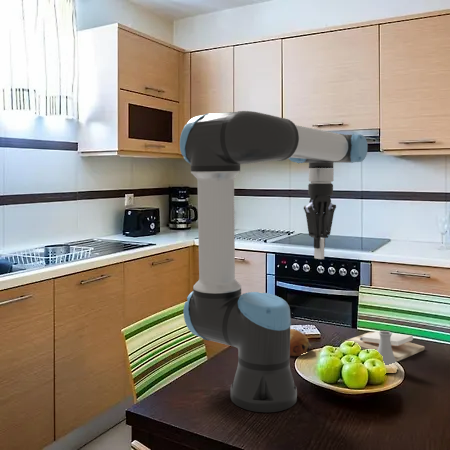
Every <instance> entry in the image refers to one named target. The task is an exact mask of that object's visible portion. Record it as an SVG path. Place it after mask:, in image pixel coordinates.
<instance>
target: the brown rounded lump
mask: <svg viewBox="0 0 450 450" xmlns="http://www.w3.org/2000/svg"><path fill="white" fill-rule="evenodd" d="M309 340H310V339H308V337H307V336H306V335H305V334H304V333H303V332H301V331H300V330H298V329H296V328H290V357H301V356H300V355H301V354H303V353H306V352H308V353H310V352H309V351H311V349H310V347H312V345H311V343H310V342H309Z"/></svg>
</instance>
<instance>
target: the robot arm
mask: <svg viewBox="0 0 450 450" xmlns="http://www.w3.org/2000/svg"><path fill="white" fill-rule="evenodd" d="M179 151H180V154H181V155H182V157H183V160H185V162H186V163H188V164H189V165H190V174H191V175H193V177H195V178H196V180H197V209H198V210H197V214H198V217H197V219H198V222H197V223H198V224H197V226H198V231H197V232H198V271H199V272H198V273H199V274H198V281H196V282H195V284H193V288H192V289H193V290H192V291H191V292H190V293H189V294H188V296H187V297H186V299H187V301H185V302H184V306H183V319H184V322H185V325H186V328H187V329H188V331H189V332H191V333H192V334H193V335H194V336H196V337H200V338H201V339H203V340H205V341H207V342H208V341H210V342H214V343H219V344H223V345H226V346H231V347H234V348H236V349H237V350H238V351H237V353H238V354H237V358H238V362H237V367H236V370H235V374H234V378H233V381H232V383H231V385H230V400H231V402H232V403H233V404H234V405H235V406H237V407H239V408H242V409H243V410H247V411H251V412H256V413H277V412H281V411H285V410H288V409H291V408H292V407H293V406H294V405H296V403H297V401H298V398H297V397H298V390H297V385H296V384H295V382H294V377H293V372H292V370H291V367H290V365H291V364H290V362H291V360H290V359H291V358H290V357H291V356H290V329H291V325H292V320H291V309H290V305H289V304H288V302H287V301H286V300H285V299H283V298H282V297H279V295H278V296H277V295H276V294H275V295H274V294H272V293H269V292H268V293H267V292H259V291H250V292H249V291H248V292H245V293H242V285H241V283H239V282H238V281H237V279H236V263H235V262H236V261H235V260H236V258H235V257H236V255H235V254H236V253H235V251H236V250H235V241H236V240H235V239H236V238H235V237H236V236H235V179H236V177H237V176H239V174H240V173H241V165H248V164H249V165H251V164H256V163H262V162H272V161H279V162H283V161H287V160H289V161H290V162H293V163H296V164H305V163H306V164H308V182H310V183H308V185H307V186H308V187H307V194H308V196H310V197H309V200H308V201H309V203H308V204H307V205H304V206H303V211H304V213H305V216H306V217H305V218H306V225H307V229H308V230H307V232H308V236H310V237H311V238H313V248H314V251H313V253H314V254H313V256H314V257H313V258H314V259H315V260H317V259H318V260H325V247H326V239H329V236H330V235H331V230H332V226H333V220H334V216H335V215H334V214H335V211H336V208H337V205H336V204H333V203H332V199H331V196H333V195H334V194H333V193H334V184H333V183H332V182H334V163H342V164H343V163H351V164H352V163H362V162H363V161H365V159H366V157H367V155H368V140H367V139H366V137H365V136H364V135H363V134H354V133H352V134H343V133H337V132H333V131H329V130H328V131H327V130H321V129H317V128H312V127H308V126H307V127H306V126H301V125H297V124H295V123H294V122H293V121H292V120H291V119H288V118H285V117H279V116H275V115H271V114H267V113H262V112H258V111H250V110H239V111H229V112H216V113H215V112H214V113H212V112H211V113H205V114H201V115H196V116H193V117H191V118H190V119H189V120H188V122H187V123H186V124H184V126H183V129H182V130H181V134H180V138H179Z"/></svg>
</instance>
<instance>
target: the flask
mask: <svg viewBox="0 0 450 450" xmlns="http://www.w3.org/2000/svg"><path fill="white" fill-rule="evenodd" d="M378 332H379V335H380V343H379V347H378V350H377V351H378V352H379V353H380V354H381V355H382V356H383V361H384V363H385V365H389V364H392V363H395V362H396V363H397V361H396V360H395V357H394V354H393V351H392V347H391V341H390V340H391V335H392V332H391V331H387V330H380V331H378Z"/></svg>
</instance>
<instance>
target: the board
mask: <svg viewBox="0 0 450 450" xmlns="http://www.w3.org/2000/svg"><path fill="white" fill-rule="evenodd" d="M374 332H375V331H369V332H367V333H366V332H365V333H364V334H360V335H357V336H354V337H350V338H348V339H346V340H343V343H344V342H345V341H354V342H357V343H358V344H359V345H360V346H361V348H362V349H376V350H378V347H379V344H377V343H370V342H363V341H361V340H360V338H361V337H362V336H365V335H368V334H371V333H374ZM391 347H392V351H393V354H394V357H395V360H396V362H400V361H402V360H405V359H407V358H409V357H411V356H413V355H415V354H418V353H420V352H423V351H425V348H426V347H425V346H424V345H420V344H417V343H414V342H413V343H412V342H411V341H410V342H407V343H405V344H402V345H400V346H391Z"/></svg>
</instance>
